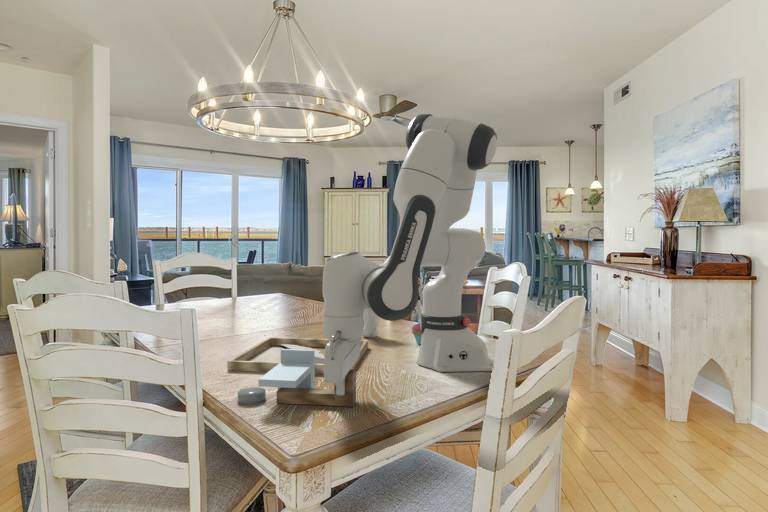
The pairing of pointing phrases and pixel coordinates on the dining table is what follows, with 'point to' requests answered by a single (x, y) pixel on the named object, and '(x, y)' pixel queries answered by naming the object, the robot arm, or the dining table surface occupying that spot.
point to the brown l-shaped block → (321, 394)
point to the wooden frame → (243, 365)
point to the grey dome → (251, 395)
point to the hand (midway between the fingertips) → (343, 390)
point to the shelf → (292, 370)
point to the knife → (317, 354)
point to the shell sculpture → (370, 323)
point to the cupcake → (417, 331)
